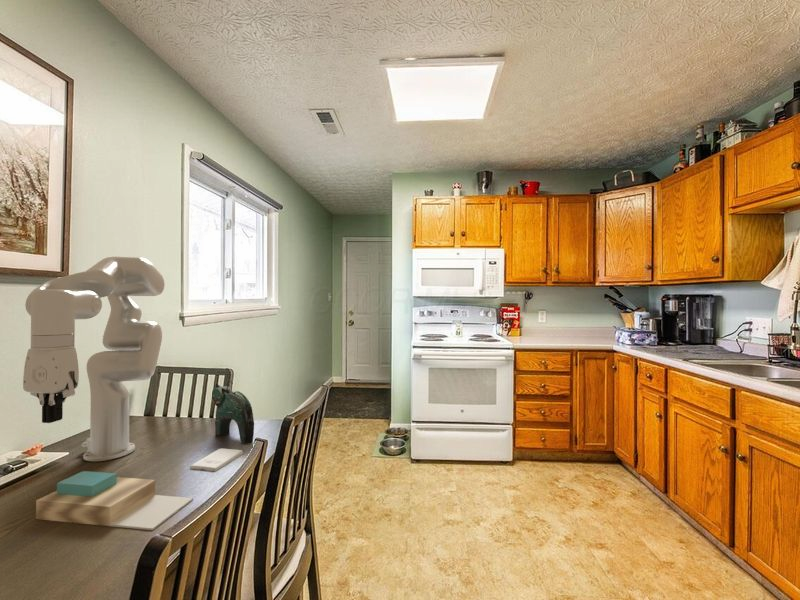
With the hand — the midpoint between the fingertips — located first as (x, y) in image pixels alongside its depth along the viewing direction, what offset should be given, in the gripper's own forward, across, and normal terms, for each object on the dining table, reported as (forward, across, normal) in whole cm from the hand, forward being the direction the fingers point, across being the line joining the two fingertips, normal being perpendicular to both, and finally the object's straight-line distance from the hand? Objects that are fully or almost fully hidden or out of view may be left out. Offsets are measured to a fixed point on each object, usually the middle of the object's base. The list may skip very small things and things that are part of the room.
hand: (52, 421), depth 87 cm
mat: (+19, +26, 0) cm, 33 cm away
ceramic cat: (+19, +18, +45) cm, 52 cm away
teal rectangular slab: (+15, +10, 0) cm, 18 cm away
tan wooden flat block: (+19, +12, 0) cm, 23 cm away
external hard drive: (+20, +23, +27) cm, 41 cm away
